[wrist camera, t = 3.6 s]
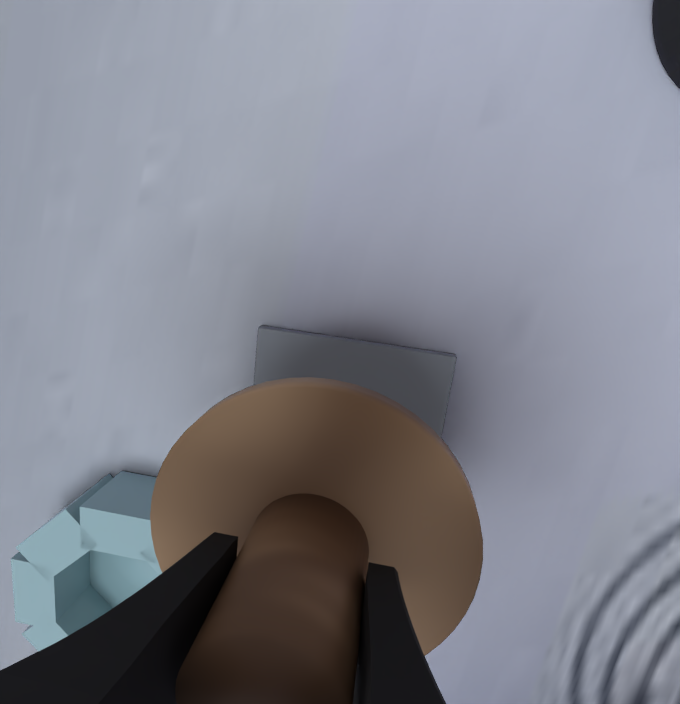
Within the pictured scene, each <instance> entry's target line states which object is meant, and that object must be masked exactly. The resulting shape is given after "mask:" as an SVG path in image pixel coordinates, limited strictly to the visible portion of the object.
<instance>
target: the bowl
mask: <svg viewBox="0 0 680 704" xmlns="http://www.w3.org/2000/svg"><path fill="white" fill-rule="evenodd" d="M156 478H157V477H152V476H146V475H141V474H136V473H130V472H125V471H121V472H120V473H119V474H117V475H116V476H115V477H114V478H113V477H112V476H111V475H110V474H108V475H107V476H105V477H104V478H103V479H101V480H100V481H99V482H98V483H96V484H95V485H94V486H92V487H91V488H90V489H88V490H87V491H86V492H85V493H83V494H82V495H81V496H79V497H78V498H77V499H75V500H74V501H73V502H72V503H70V504H69V505H68V506H66V507H65V508H64V509H63V510H61V511H60V512H59V513H58V514H56V515H55V516H54V517H53V518H51V519H50V520H49V521H48V522H46V523H45V524H44V525H43V526H42V527H40V528H39V529H38V530H37V531H35V532H34V533H33V534H32V535H30V536H29V537H28V538H27V539H26V540H24V541H23V542H22V543H21V544H19V545H18V546H17V547H16V549H17V550H18V551H19V552H18V553H17V554H16V555H15V556H14V557H12V558H11V567H12V580H13V594H14V608H15V621H16V622H19V623H24V624H28V625H30V626H29V627H28V628H27V629H26V630H25V631H24V632H23V633H22V635H23V636H24V637H25V638H26V639H27V640H28V641H29V642H30V643H31V644H32V645H33V646H34V647H35V648H36V649H37V650H38V651H40V650H42V649H44V648H46V647H48V646H50V645H52V644H54V643H56V642H58V641H60V640H62V639H63V638H65V637H67V636H69V635H70V634H72V633H74V632H75V631H77V630H79V629H81V628H82V627H84V626H86V625H87V624H89V623H91V622H92V621H94V620H95V619H97V618H99V617H100V616H102V615H103V614H105V613H106V612H108V611H109V610H111V609H112V608H114V607H115V606H117V605H118V604H120V603H121V602H123V601H124V600H125V599H127V598H128V597H130V596H131V595H133V594H134V593H136V592H137V591H139V590H140V589H141V588H143V587H144V586H146V585H147V584H148V583H150V582H151V581H152V580H154V579H155V578H156V577H158V576H159V575H160V574H161V573H162V571H161V569H160V566H159V563H158V560H157V557H156V554H155V551H154V546H153V541H152V536H151V522H150V512H151V500H152V494H153V490H154V486H155V482H156Z"/></svg>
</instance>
